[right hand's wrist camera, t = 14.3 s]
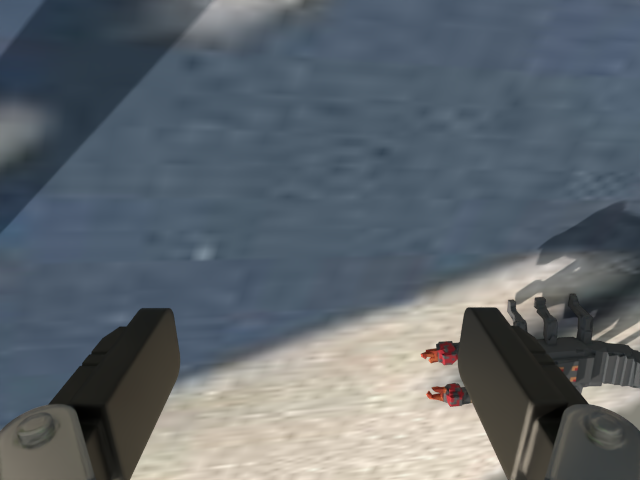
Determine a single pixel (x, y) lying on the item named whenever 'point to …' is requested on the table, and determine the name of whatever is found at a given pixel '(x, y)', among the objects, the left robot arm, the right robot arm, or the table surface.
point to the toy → (557, 355)
